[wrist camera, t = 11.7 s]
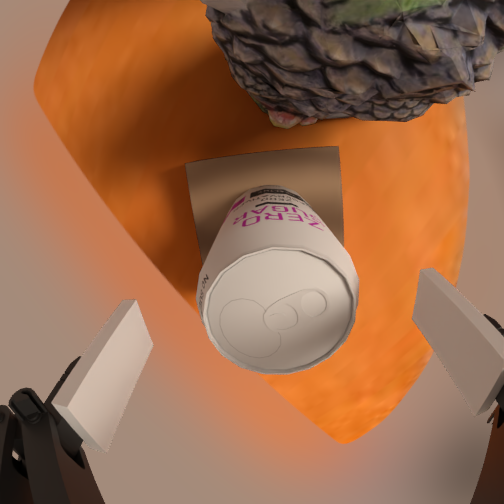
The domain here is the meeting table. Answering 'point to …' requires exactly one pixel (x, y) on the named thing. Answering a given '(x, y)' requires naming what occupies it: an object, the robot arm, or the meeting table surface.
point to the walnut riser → (265, 173)
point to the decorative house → (356, 54)
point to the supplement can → (276, 285)
